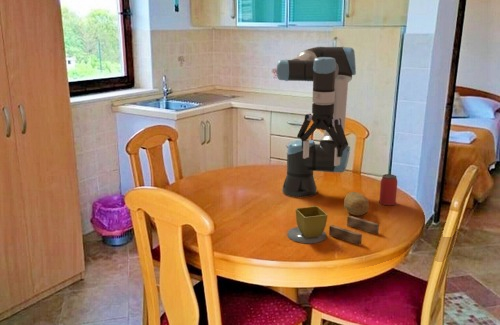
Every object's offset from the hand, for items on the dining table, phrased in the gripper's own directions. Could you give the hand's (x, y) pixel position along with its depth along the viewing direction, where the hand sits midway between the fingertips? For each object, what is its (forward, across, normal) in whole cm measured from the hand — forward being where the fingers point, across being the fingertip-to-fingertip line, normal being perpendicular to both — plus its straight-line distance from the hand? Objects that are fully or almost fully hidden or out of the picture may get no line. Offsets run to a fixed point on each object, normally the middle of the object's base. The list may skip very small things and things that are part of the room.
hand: (321, 161), depth 178 cm
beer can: (+26, +8, +38) cm, 47 cm away
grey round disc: (+24, +3, -11) cm, 27 cm away
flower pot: (+24, +4, -11) cm, 27 cm away
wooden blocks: (+24, +15, +1) cm, 29 cm away
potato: (+25, +4, +19) cm, 32 cm away
